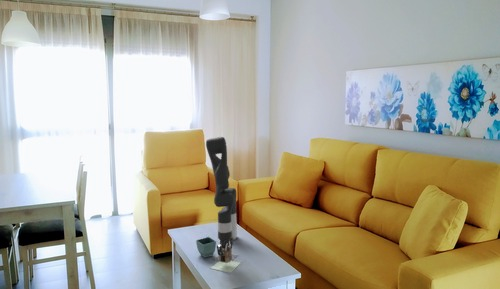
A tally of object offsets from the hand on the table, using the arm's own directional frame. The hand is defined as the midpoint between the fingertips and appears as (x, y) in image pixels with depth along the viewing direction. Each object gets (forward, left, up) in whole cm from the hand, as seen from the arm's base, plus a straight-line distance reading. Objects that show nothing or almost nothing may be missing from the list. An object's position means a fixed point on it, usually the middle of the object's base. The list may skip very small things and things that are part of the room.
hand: (225, 259), depth 205 cm
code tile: (-9, -5, -4) cm, 11 cm away
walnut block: (0, 0, 0) cm, 0 cm away
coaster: (0, 0, -4) cm, 4 cm away
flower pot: (-7, -17, -4) cm, 19 cm away
